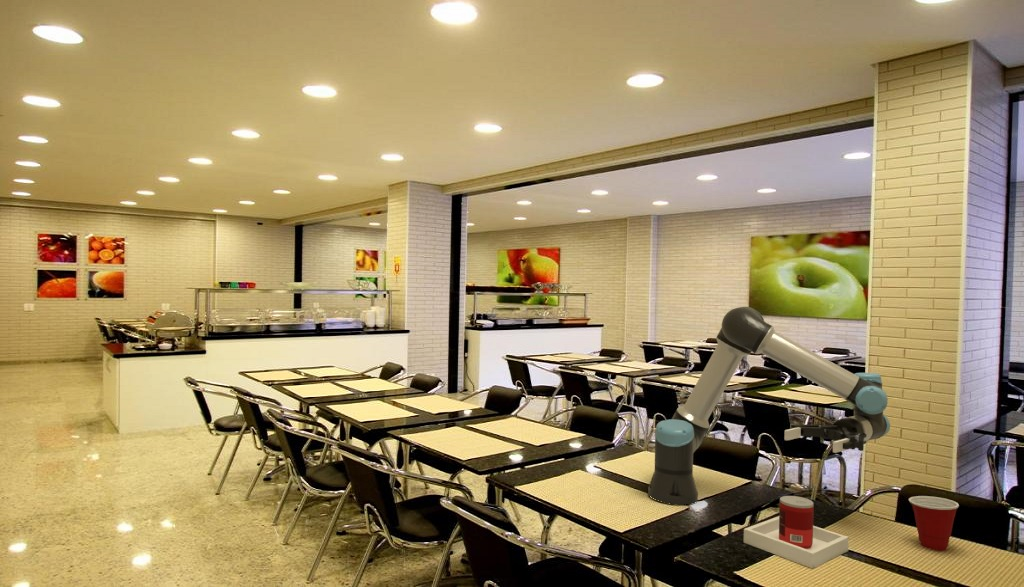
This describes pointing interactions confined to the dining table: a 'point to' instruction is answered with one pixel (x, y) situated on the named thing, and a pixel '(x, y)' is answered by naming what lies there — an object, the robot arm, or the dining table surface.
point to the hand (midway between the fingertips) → (809, 441)
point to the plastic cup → (934, 520)
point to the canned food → (796, 521)
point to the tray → (819, 553)
